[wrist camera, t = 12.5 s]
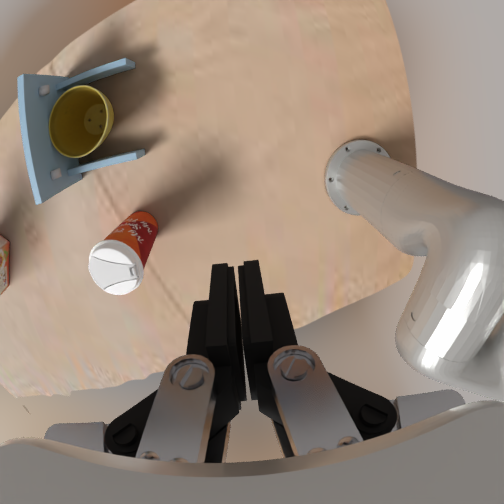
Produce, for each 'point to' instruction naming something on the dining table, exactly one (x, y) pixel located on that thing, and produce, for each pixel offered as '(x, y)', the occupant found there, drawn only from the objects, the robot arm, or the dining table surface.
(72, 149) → the flower pot
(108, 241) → the paper cup
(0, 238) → the cracker box
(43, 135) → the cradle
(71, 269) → the dining table surface
